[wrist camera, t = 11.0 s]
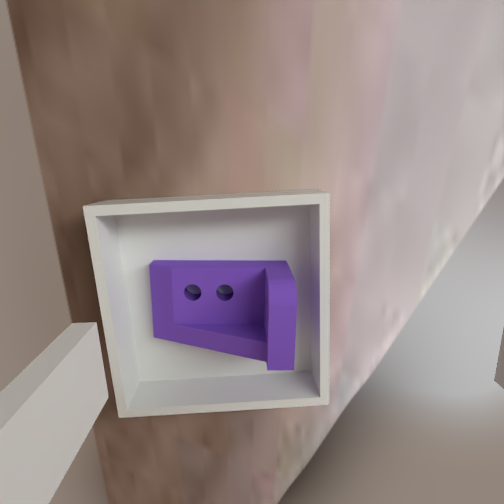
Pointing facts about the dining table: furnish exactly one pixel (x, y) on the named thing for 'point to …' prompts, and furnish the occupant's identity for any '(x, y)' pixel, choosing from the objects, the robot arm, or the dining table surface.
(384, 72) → the dining table surface
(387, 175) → the dining table surface
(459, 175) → the dining table surface
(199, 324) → the bracket
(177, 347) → the bin
